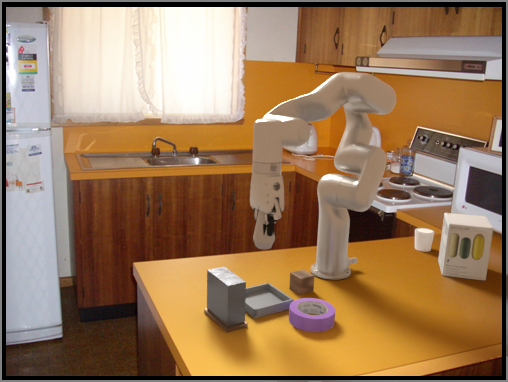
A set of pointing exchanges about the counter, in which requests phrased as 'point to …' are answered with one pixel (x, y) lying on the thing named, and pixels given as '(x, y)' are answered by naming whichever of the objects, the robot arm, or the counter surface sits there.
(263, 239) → the salt shaker
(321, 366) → the counter surface
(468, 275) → the supplement box
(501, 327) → the counter surface
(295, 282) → the walnut cube
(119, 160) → the counter surface
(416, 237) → the shot glass
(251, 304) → the tray
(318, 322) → the masking tape
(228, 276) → the unit
